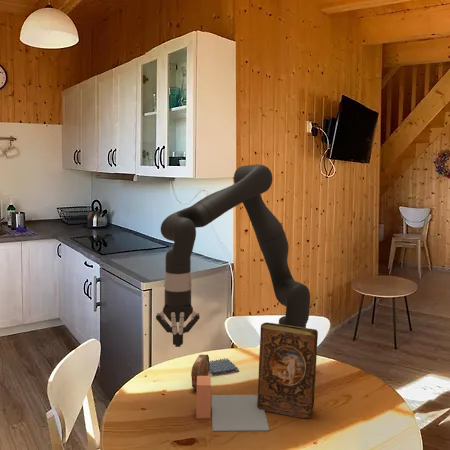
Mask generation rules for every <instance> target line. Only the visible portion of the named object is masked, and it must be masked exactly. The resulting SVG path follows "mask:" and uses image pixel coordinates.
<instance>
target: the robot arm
mask: <svg viewBox="0 0 450 450" xmlns="http://www.w3.org/2000/svg"><path fill="white" fill-rule="evenodd" d="M272 184H273V173H272V171H271V169H270V168H269V167H268V166H266V165H264V164H248V165H242V166H239V167H238V168H236V170H235V171H234V174H233V184H232V185H230V186H229V185H228V186H227V187H224V188H222V189H220V190H217V191H215V192H213V193H211V194H209V195H206V196H204V197H203V198H201V199H200V200H198V201H197V202H195V203H194V204H192V205H191V206H189V207H185V208H183V209H181V210H178V211H176V212H173V213H171V214H170V215H168V216H167V217H165V219H164V220H163V221H162V222H161V225H160V233H161V235H162V237H163V238H164V239H166V240H168V241H171V242H173V246H172V247H173V248H172V249H170V250H168V251H167V252H166V254H165V273H164V274H165V275H164V284H163V287H164V304H163V305H164V306H163V307H162V311H160V312H157V313H156V316H155V320H156V321H157V322H158V323H159V324H160V326H161V327H162V328H163V329H164V331H166V333H170V334H171V335H172V345H174V347H176V348H181V346H183V344H184V334H186V333H189V332H190V331H191V330H192V329H193V327H194V326H195V324H197V322H198V321H199V320H200V316H201V315H200V313H199V312H196V311H194V307H193V306H192V274H191V269H192V268H191V265H192V263H191V258H192V257H191V256H192V253H193V250H194V246H195V242H196V236H197V228H204V227H206V226H207V225H209V224H210V223H212V222H213V221H215V220H216V219H218V218H220V217H221V216H223V215H224V214H225V213H227V212H229V211H230V210H232V209H234V208H235V207H237V206H239V205H240V204H243V206H244V208H245V209H244V210H245V211H246V213H247V216H248V218H249V220H250V223H251V226H252V229H253V231H254V235H255V237H256V239H257V243H258V245H259V248H260V251H261V253H262V256H263V259H264V261H265V264H266V267H267V270H268V273H269V276H270V278H271V284H272V288H273V292H274V296H275V298H276V300H277V301H278V303H279V304H280V305H282V306H284V307H285V315H284V316H281V317H280V318H279V319H278V324H282V325H289V326H296V327H302V328H307V327H306V326H307V323H308V322H309V319H310V318H309V317H310V307H311V306H310V305H311V293H310V289H309V288H308V286H307V285H305V284H304V283H301V282H298V281H296V280H295V279H294V277H293V275H292V273H291V271H290V267H289V263H288V257H289V242H288V238H287V236H286V233H285V230H284V228H283V227H284V226H283V225H282V223H281V222H280V220H279V219H278V218H277V217H276V216H275V214H273V212H272V211H271V209H269V208H268V207H267V205H266V203H265V202H264V200H263V197H262V194H264V193H267V191H269V189H270V188H271V187H272ZM165 318H167V319H168V321H169V322H171V325H170V324H169V323H168V321H167V320H166V319H165ZM189 318H190V320H189V321H188V323H187V324H186V325H185V324H184V323H185V322H187V320H188V319H189ZM184 325H185V326H184Z"/></svg>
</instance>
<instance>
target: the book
mask: <svg viewBox="0 0 450 450" xmlns="http://www.w3.org/2000/svg"><path fill="white" fill-rule="evenodd" d="M259 333H260V337H259V338H260V339H259V357H258V358H259V360H258V379H257V381H258V382H257V395H258V397H257V408H258V409H261V410H264V411H265V412H272V413H276V414H282V415H286V416H290V417H296V418H302V419H310V418H311V415H312V410H313V408H314V405H315V388H316V372H317V358H318V356H317V354H318V338H319V337H318V336H319V331H318V330H317V329H314V328H307V327H306V328H302V327H296V326H289V325H282V324H279V323H275V322H263V323H261V324H260V332H259Z"/></svg>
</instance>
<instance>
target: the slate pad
mask: <svg viewBox="0 0 450 450" xmlns="http://www.w3.org/2000/svg"><path fill="white" fill-rule="evenodd" d="M257 397H258V394H211V422H212V423H211V424H212V425H211V426H212V432H270V428H269V424H268V420H267V416H266V410H261V409H258V408H257Z"/></svg>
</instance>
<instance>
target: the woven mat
mask: <svg viewBox="0 0 450 450" xmlns="http://www.w3.org/2000/svg"><path fill="white" fill-rule="evenodd" d="M239 372H240V370H239V368H238V366H236V364H234V363H233V361H231V360H230V359H229V358H225V357H224V358H223V359H221V358H220V359H215V360H213V359H212V360H209V374H210V375H209V376H211V377H218V376H225V375H228V374H236V373H239Z"/></svg>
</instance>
